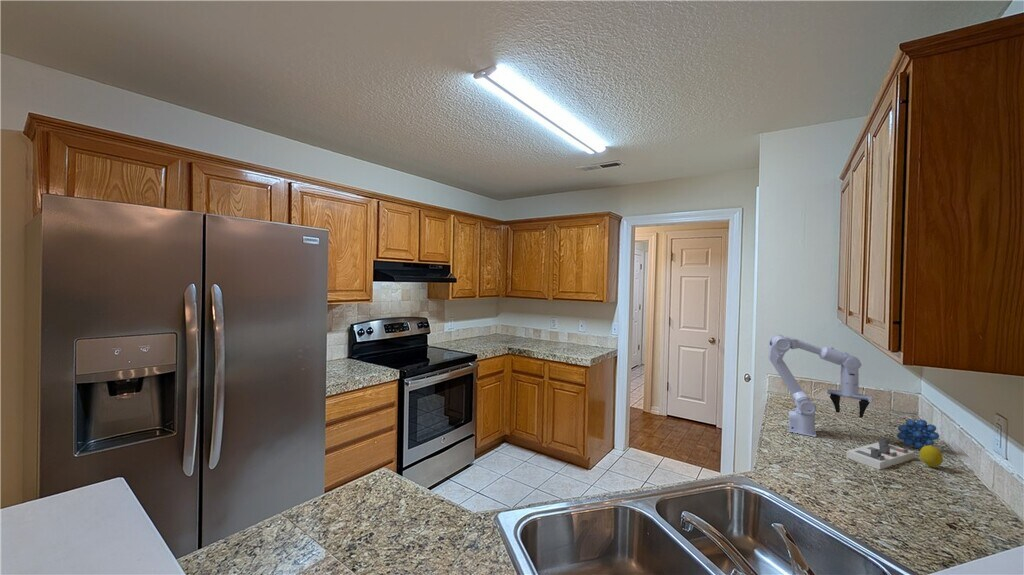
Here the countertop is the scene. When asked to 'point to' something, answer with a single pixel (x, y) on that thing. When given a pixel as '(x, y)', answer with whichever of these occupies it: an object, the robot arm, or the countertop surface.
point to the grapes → (917, 433)
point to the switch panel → (884, 460)
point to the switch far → (883, 441)
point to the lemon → (931, 456)
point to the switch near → (875, 453)
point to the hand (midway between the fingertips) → (849, 414)
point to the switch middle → (884, 448)
